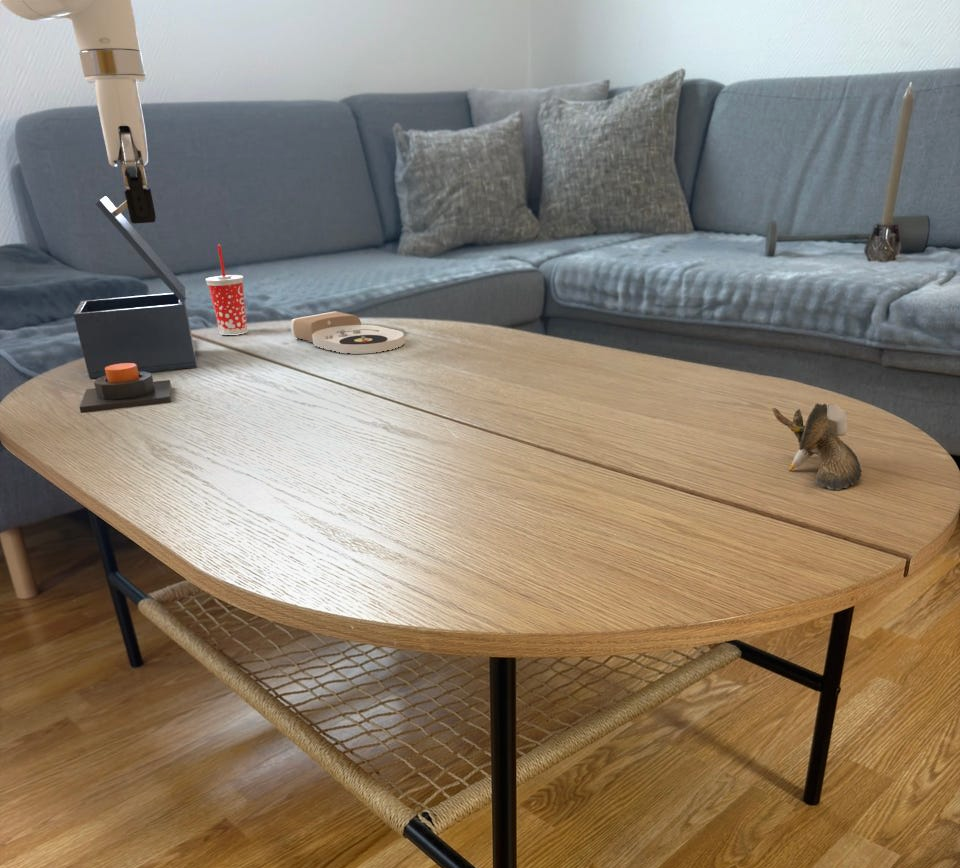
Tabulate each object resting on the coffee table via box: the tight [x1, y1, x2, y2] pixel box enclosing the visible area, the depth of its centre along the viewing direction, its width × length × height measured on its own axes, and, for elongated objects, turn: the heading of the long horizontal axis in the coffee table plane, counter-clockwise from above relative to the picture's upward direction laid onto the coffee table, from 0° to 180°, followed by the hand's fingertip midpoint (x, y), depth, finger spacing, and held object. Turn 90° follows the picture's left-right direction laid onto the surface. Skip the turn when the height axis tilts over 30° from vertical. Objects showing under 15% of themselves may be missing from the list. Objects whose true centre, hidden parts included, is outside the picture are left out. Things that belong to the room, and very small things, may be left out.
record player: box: [290, 310, 405, 355], centre depth 136 cm, size 12×3×20 cm
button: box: [105, 363, 139, 382], centre depth 104 cm, size 4×4×2 cm
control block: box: [79, 371, 172, 414], centre depth 105 cm, size 10×9×4 cm
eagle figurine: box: [771, 402, 862, 491], centre depth 76 cm, size 8×7×9 cm
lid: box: [95, 196, 187, 302], centre depth 122 cm, size 16×13×5 cm
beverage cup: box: [205, 244, 248, 335], centre depth 145 cm, size 6×6×14 cm
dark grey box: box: [72, 292, 198, 380], centre depth 127 cm, size 15×13×9 cm
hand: (143, 219), depth 121 cm, fingers closed on lid, 5 cm apart
